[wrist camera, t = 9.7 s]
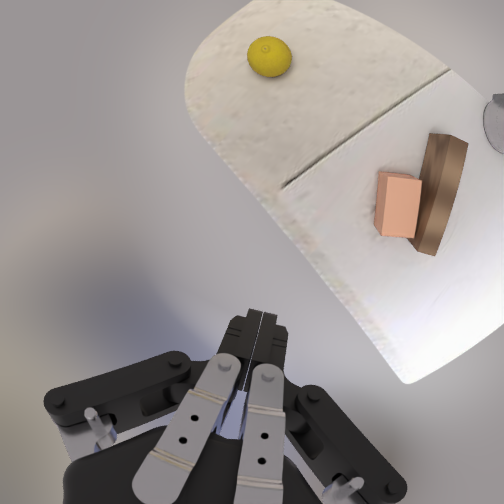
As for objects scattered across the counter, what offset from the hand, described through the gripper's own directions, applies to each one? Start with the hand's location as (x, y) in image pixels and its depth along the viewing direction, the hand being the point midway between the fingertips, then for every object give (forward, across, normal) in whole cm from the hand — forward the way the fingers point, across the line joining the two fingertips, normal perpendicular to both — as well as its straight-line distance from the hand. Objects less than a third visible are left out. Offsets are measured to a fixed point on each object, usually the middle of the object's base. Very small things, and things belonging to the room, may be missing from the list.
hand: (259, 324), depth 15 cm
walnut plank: (+29, -20, -7) cm, 36 cm away
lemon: (+29, +6, -19) cm, 35 cm away
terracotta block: (+29, -15, -4) cm, 33 cm away
